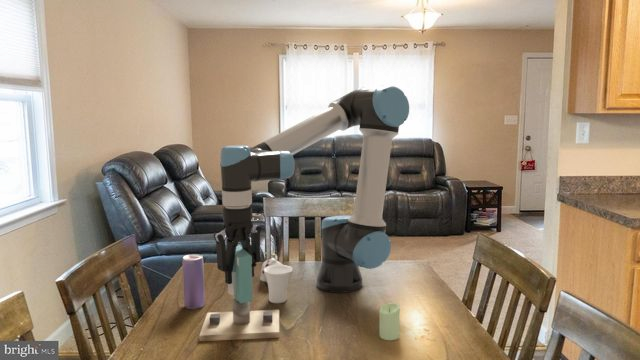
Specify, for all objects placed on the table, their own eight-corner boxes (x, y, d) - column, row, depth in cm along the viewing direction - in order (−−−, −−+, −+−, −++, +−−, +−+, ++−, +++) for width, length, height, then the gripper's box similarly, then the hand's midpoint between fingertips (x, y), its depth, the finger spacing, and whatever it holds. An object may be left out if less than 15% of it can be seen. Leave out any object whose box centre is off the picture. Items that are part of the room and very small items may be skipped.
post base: (279, 314, 136) (278, 289, 135) (279, 337, 123) (278, 309, 121) (207, 317, 135) (206, 292, 134) (199, 341, 121) (198, 312, 120)
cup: (278, 308, 141) (278, 275, 139) (258, 300, 147) (257, 268, 146) (300, 299, 147) (299, 268, 146) (279, 292, 154) (278, 261, 152)
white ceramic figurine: (268, 248, 169) (272, 255, 155) (288, 258, 171) (293, 267, 156) (255, 272, 169) (257, 282, 154) (274, 282, 170) (279, 293, 155)
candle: (385, 342, 120) (386, 310, 118) (375, 333, 124) (376, 303, 123) (402, 338, 122) (403, 307, 120) (392, 330, 126) (392, 300, 125)
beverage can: (199, 310, 140) (197, 260, 138) (180, 308, 141) (178, 259, 139) (208, 302, 145) (206, 254, 143) (190, 301, 147) (188, 253, 145)
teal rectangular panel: (241, 291, 133) (240, 245, 131) (253, 305, 123) (251, 255, 121) (229, 293, 132) (227, 246, 130) (240, 308, 122) (238, 257, 120)
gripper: (256, 199, 133) (258, 280, 136) (199, 208, 121) (203, 297, 124) (273, 202, 127) (275, 287, 131) (215, 213, 115) (219, 305, 119)
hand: (240, 291), depth 128 cm, fingers closed on teal rectangular panel, 4 cm apart
